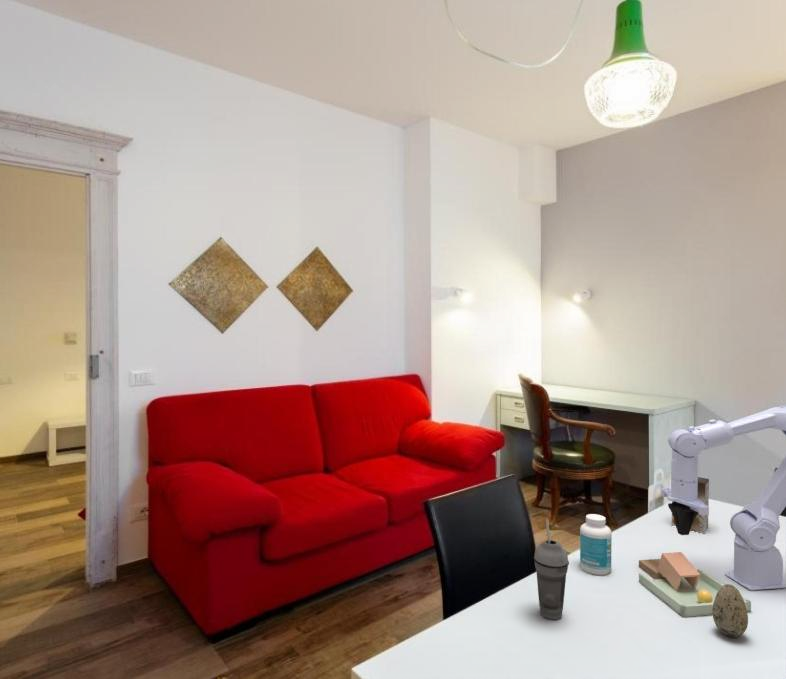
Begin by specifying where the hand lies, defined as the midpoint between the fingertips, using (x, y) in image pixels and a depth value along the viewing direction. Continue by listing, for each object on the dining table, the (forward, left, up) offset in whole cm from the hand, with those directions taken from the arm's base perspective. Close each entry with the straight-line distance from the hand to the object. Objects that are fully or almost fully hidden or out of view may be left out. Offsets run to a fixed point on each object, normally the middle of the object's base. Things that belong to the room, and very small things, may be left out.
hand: (683, 534), depth 128 cm
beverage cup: (+40, +12, -11) cm, 43 cm away
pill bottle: (+20, -6, -11) cm, 23 cm away
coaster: (+5, -2, -10) cm, 12 cm away
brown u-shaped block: (+5, +2, -6) cm, 8 cm away
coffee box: (-22, -27, -11) cm, 36 cm away
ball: (+5, +14, -7) cm, 16 cm away
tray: (+5, +9, -10) cm, 15 cm away
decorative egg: (+8, +24, -11) cm, 27 cm away
